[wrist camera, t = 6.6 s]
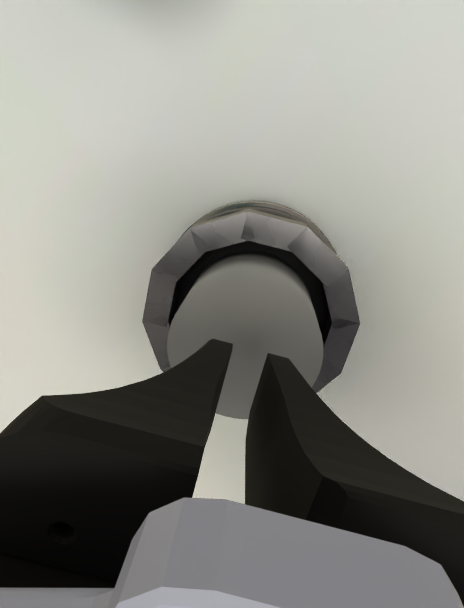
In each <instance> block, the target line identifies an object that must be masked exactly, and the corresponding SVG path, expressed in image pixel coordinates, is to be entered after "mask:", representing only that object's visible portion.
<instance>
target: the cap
mask: <svg viewBox="0 0 464 608" xmlns="http://www.w3.org/2000/svg"><path fill="white" fill-rule="evenodd" d="M211 339H217V340H220V341H224V342H228V343H232V344H233V348H232V353H231V357H230V361H229V364H228V368H227V372H226V375H225V379H224V383H223V386H222V390H221V394H220V397H219V401H218V405H217V409H216V412H215V413H217V414H220V415H223V416H227V417H232V418H239V419H249V413H250V409H251V406H252V403H253V399H254V396H255V393H256V390H257V386H258V383H259V380H260V376H261V373H262V370H263V367H264V363H265V360H266V357H267V354H268V353H270V354H274V355H278V356H282V357H286V358H289V359H290V361H291V362H292V363H293V364H294V366H295V367H296V368H297V370H298V371H299V372H300V374H301V375H302V376H303V378H304V379H305V380H306V381H307V383H308V384H309V385H310V386H311V388H312V386H313V384H314V383H315V381H316V379H317V377H318V375H319V372H320V369H321V366H322V360H323V340H322V335H321V331H320V328H319V325H318V321H317V318H316V314H315V311H314V308H313V304H312V301H311V297H310V294H309V291H308V288H307V286H306V284H305V281H304V280H303V278H302V277H301V275H300V274H299V273H298V272H297V270H296V269H295V268H294V267H293V266H291V265H290V264H289V263H288V262H286V261H285V260H283V259H282V258H280V257H278V256H276V255H274V254H271V253H268V252H264V251H259V250H240V251H235V252H231V253H228V254H226V255H223V256H221V257H219V258H218V259H216V260H215V261H213V262H212V263H210V264H209V265H208V266H207V267H206V268H205V269H204V270H203V271H202V273H201V274H200V275H199V277H198V278H197V280H196V282H195V283H194V285H193V286H192V288H191V290H190V291H189V293H188V295H187V296H186V298H185V299H184V301H183V303H182V304H181V306H180V308H179V309H178V311H177V312H176V314H175V316H174V318H173V320H172V323H171V326H170V329H169V333H168V340H167V352H168V359H169V363H170V366H171V368H172V367H174V366H176V365H177V364H179V363H181V362H182V361H184V360H185V359H187V358H188V357H189V356H191V355H192V354H194V353H195V352H196V351H197V350H199V349H200V348H201V347H202V346H203V345H204V344H206V343H207V341H209V340H211Z"/></svg>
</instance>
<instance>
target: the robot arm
mask: <svg viewBox="0 0 464 608" xmlns="http://www.w3.org/2000/svg"><path fill="white" fill-rule="evenodd" d="M232 348H233V344H232V343H228V342H224V341H220V340H217V339H211V340H209V341H207V343H206V344H204V345H203V346H202V347H201V348H200V349H199V350H197V351H196V352H195V353H194V354H192V355H191V356H189V357H188V358H187V359H185V360H184V361H182V362H181V363H179V364H177V365H176V366H174V367H172V368H171V369H169V370H167V371H165V372H163V373H161V374H159V375H157V376H154V377H152V378H150V379H147V380H144V381H141V382H137V383H134V384H130V385H127V386H123V387H120V388H115V389H110V390H105V391H98V392H92V393H83V394H69V395H52V396H41V397H40V398H39V399H38V400H37V401H35V402H34V403H33V404H32V405H30V406H29V407H28V408H27V409H25V410H24V411H23V412H22V413H21V414H20V415H19V416H18V417H16V418H15V419H14V420H13V421H12V422H11V423H10V424H9V425H8V426H7V427H6V428H5V429H4V430H3V431H2V432H1V433H0V608H464V502H463V501H461V500H460V499H458V498H456V497H454V496H452V495H450V494H448V493H446V492H444V491H442V490H440V489H438V488H436V487H434V486H432V485H431V484H429V483H427V482H425V481H424V480H422V479H420V478H419V477H417V476H415V475H414V474H412V473H410V472H409V471H407V470H405V469H404V468H402V467H401V466H399V465H398V464H396V463H395V462H393V461H392V460H390V459H389V458H387V457H386V456H385V455H383V454H382V453H380V452H379V451H378V450H376V449H375V448H374V447H372V446H371V445H370V444H368V443H367V442H366V441H364V440H363V439H362V438H361V437H359V436H358V435H357V434H356V433H355V432H354V431H353V430H351V429H350V428H349V427H348V426H347V425H346V424H345V423H344V422H342V421H341V420H340V419H339V418H338V417H337V416H336V415H335V414H334V413H333V412H332V410H331V409H330V408H329V407H328V406H327V405H326V404H325V403H324V402H323V401H322V400H321V398H320V397H319V396H318V395H317V394H316V393H315V391H314V390H313V389H312V388H311V386H310V385H309V384H308V383H307V381H306V380H305V379H304V378H303V376H302V375H301V374H300V372H299V371H298V370H297V368H296V367H295V366H294V364H293V363H292V362H291V361H290V359H289V358H286V357H282V356H278V355H274V354H270V353H268V354H267V357H266V360H265V363H264V367H263V370H262V373H261V376H260V380H259V383H258V386H257V390H256V393H255V396H254V399H253V403H252V406H251V409H250V413H249V420H248V427H247V434H246V455H245V504H241V503H238V502H234V501H230V500H225V499H205V498H192V496H193V492H194V488H195V484H196V481H197V477H198V473H199V469H200V465H201V460H202V456H203V452H204V448H205V445H206V442H207V439H208V436H209V434H210V431H211V427H212V423H213V420H214V416H215V412H216V409H217V405H218V401H219V397H220V394H221V390H222V386H223V383H224V379H225V375H226V372H227V368H228V364H229V361H230V357H231V353H232Z"/></svg>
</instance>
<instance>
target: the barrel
mask: <svg viewBox="0 0 464 608" xmlns="http://www.w3.org/2000/svg"><path fill="white" fill-rule="evenodd" d="M240 250H259V251H264V252H268V253H271V254H274V255H276V256H278V257H280V258H282V259H283V260H285V261H286V262H288V263H289V264H290V265H291V266H293V267H294V268H295V269H296V270H297V272H298V273H299V274H300V275H301V277H302V278H303V280H304V281H305V284H306V286H307V288H308V291H309V294H310V297H311V301H312V304H313V308H314V311H315V314H316V318H317V321H318V325H319V328H320V331H321V335H322V340H323V360H322V366H321V369H320V372H319V375H318V377H317V379H316V381H315V383H314V384H313V386H312V389H313V390H314V391H315V393H317V392H318V391H319V390H321V389H322V388H323V387H324V386H326V385H327V384H328V383H329V382H330V381H332V380H333V379H334V378H335V377H337V376H338V375H339V374H340V373H341V372H342V370H343V367H344V364H345V362H346V359H347V356H348V354H349V351H350V349H351V346H352V343H353V341H354V338H355V335H356V333H357V330H358V328H359V325H360V321H359V316H358V311H357V307H356V302H355V297H354V292H353V287H352V283H351V278H350V273H349V269H348V268H347V266H346V265H345V264H344V263H343V261H342V260H341V259H340V258H339V257H338V256H337V254H336V252H335V250H334V248H333V247H332V245H331V244H330V242H329V240H328V239H327V238H326V236H325V235H324V234H323V233H322V232H321V231H320V229H319V228H318V227H317V226H315V225H314V224H313V223H312V222H311V221H310V220H309V219H307V218H306V217H304V216H303V215H301V214H300V213H298V212H296V211H294V210H292V209H290V208H287V207H284V206H281V205H278V204H274V203H269V202H261V201H246V202H238V203H233V204H229V205H226V206H223V207H220V208H217V209H215V210H213V211H211V212H210V213H208V214H206V215H204V216H203V217H202V218H200V219H199V220H197V221H196V222H195V223H194V224H193V225H192V226H191V227H190V228H188V229H187V230H186V231H185V233H184V234H183V235H182V236H181V238H180V239H179V240H178V241H177V243H176V244H175V245H174V246H173V247H172V248H171V249H170V250H169V251H168V252H167V253H166V254H165V256H164V257H163V258H162V259H161V260H160V261H159V262H158V263H157V264H156V265H155V266H154V268H153V269H152V271H151V276H150V282H149V287H148V293H147V298H146V304H145V309H144V315H143V320H142V322H143V324H144V327H145V330H146V332H147V335H148V337H149V340H150V343H151V345H152V348H153V351H154V353H155V356H156V359H157V361H158V364H159V366H160V369H161V370H162V371H163V372H165V371H167V370H169V369H171V366H170V363H169V359H168V352H167V340H168V333H169V329H170V326H171V323H172V320H173V318H174V316H175V314H176V312H177V311H178V309H179V308H180V306H181V304H182V303H183V301H184V299H185V298H186V296H187V295H188V293H189V291H190V290H191V288H192V286H193V285H194V283H195V282H196V280H197V278H198V277H199V275H200V274H201V273H202V271H203V270H204V269H205V268H206V267H207V266H208V265H209V264H210V263H212V262H213V261H215V260H216V259H218V258H219V257H221V256H223V255H226V254H228V253H231V252H235V251H240Z"/></svg>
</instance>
